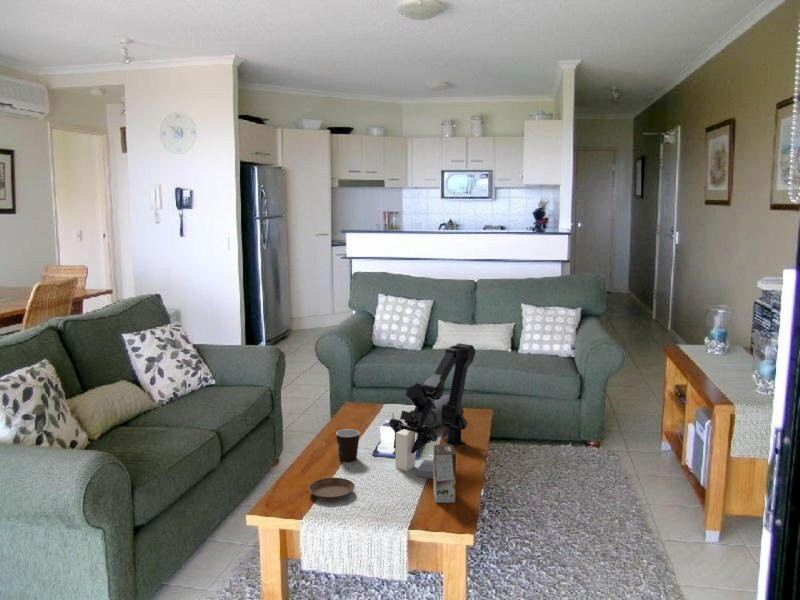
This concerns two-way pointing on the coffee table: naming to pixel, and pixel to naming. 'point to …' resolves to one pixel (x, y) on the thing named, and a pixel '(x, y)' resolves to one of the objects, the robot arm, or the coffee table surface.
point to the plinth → (426, 469)
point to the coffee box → (444, 473)
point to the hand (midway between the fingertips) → (403, 450)
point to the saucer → (331, 489)
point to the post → (405, 450)
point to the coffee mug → (347, 444)
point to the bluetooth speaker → (437, 412)
